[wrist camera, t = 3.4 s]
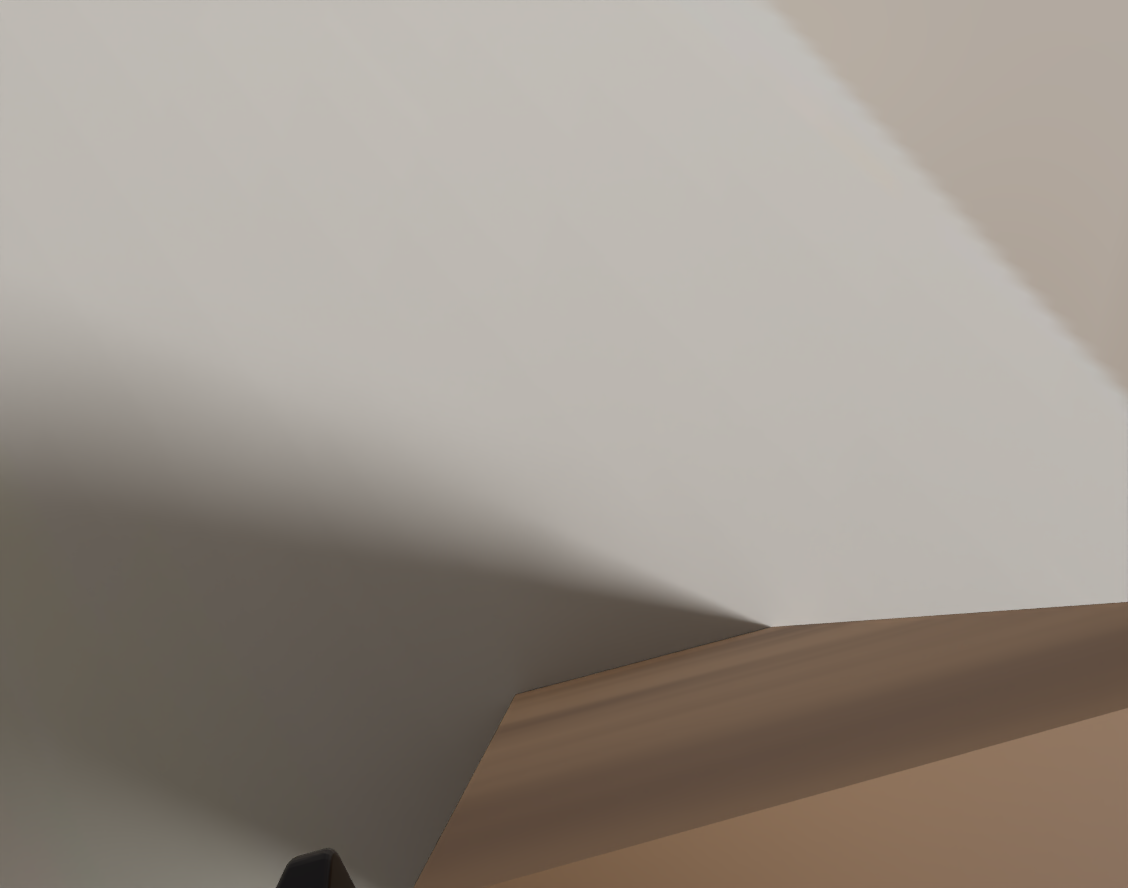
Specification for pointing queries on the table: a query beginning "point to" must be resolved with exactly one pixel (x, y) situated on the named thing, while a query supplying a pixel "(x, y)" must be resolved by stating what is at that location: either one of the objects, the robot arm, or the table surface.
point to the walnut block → (818, 763)
